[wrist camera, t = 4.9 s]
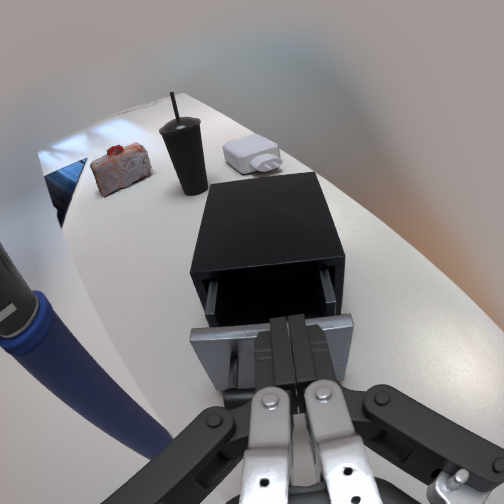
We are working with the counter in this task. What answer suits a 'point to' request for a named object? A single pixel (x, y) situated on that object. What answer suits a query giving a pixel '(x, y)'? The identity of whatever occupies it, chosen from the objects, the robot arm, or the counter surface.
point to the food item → (120, 167)
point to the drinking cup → (186, 151)
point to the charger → (252, 154)
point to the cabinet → (267, 231)
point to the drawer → (264, 324)
